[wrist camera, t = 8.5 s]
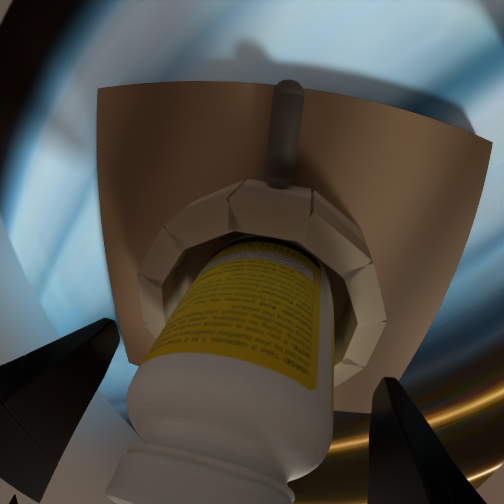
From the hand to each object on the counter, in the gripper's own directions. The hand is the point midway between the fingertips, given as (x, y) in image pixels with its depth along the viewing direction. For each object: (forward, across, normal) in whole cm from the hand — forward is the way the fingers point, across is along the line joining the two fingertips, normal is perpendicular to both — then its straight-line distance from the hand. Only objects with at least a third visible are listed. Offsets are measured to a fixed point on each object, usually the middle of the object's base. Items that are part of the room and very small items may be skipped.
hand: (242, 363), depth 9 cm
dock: (+6, 0, 0) cm, 6 cm away
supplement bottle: (+4, 0, 0) cm, 5 cm away
